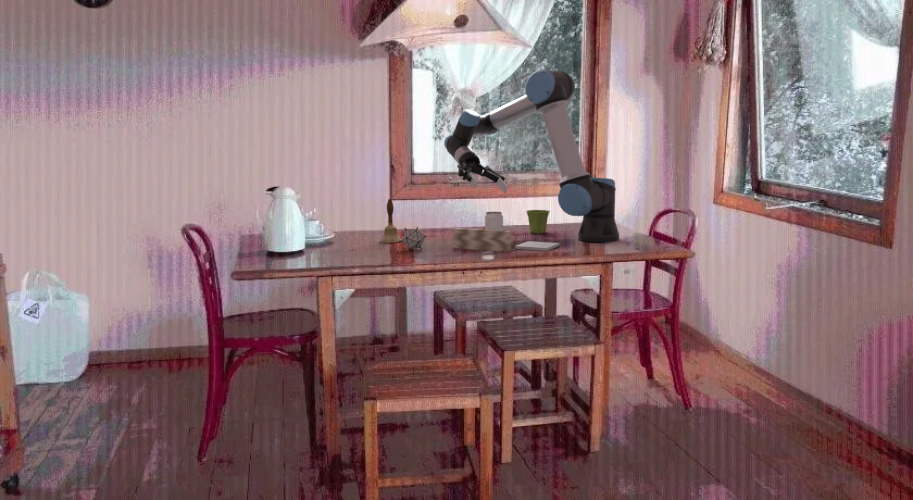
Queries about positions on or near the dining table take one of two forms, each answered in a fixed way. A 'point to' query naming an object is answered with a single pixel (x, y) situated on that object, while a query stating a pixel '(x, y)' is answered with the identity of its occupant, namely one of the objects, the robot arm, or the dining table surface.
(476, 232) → the beige brown patterned panel
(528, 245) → the pad
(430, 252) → the dining table surface
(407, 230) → the game die
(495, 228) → the can
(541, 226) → the plant pot
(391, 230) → the hand bell
